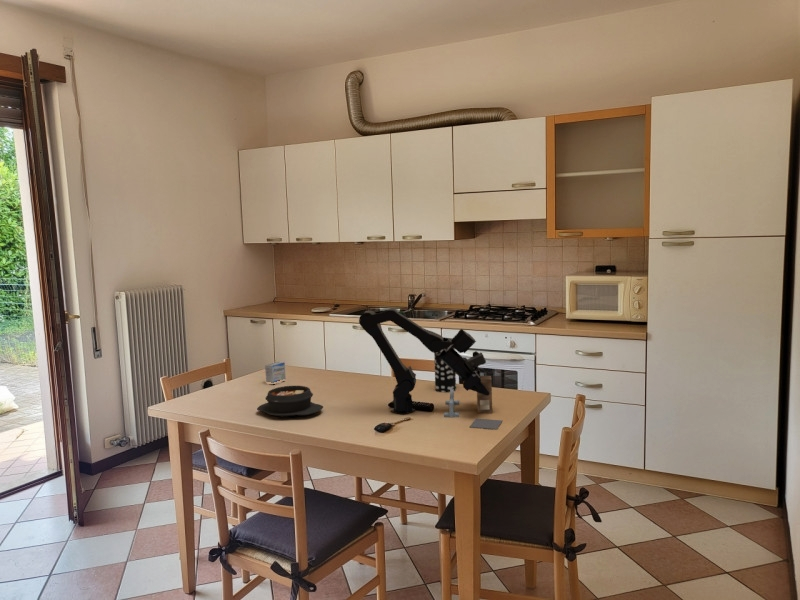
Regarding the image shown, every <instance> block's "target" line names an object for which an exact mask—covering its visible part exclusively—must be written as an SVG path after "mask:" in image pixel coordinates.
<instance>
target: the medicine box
mask: <svg viewBox="0 0 800 600" xmlns="http://www.w3.org/2000/svg"><path fill="white" fill-rule="evenodd" d="M264 368H265V383H266V382H271V383H274V382H277V381H280V380H283V379H286V380H287V378H286V365H285V361H284V362H283V361H277V362H273V363H268V364H266V365H265V366H264Z"/></svg>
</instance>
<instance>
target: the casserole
mask: <svg viewBox="0 0 800 600" xmlns="http://www.w3.org/2000/svg"><path fill="white" fill-rule="evenodd" d="M313 395H314V393H313V392H312V391H311V388H310V387H308V386H305V385H287V386H279V387H276V388H275V387H274V388H272V389H270V390H269V391H268V392H267V395H266V397H265V401H266V402H265V403H263V404H261V405H259V406H258V407H257V408H256V410H257V411H259V412H263V413H265V414H268V415H271V416H276V417H279V416H294V415H298V416H308V415H312V414H316V413H318V412H320V411H322V410H323V409H324V406H323V405H322V404H318V403H315V402H312V397H313ZM294 417H295V416H294Z"/></svg>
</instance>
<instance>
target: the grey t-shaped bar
mask: <svg viewBox="0 0 800 600" xmlns="http://www.w3.org/2000/svg"><path fill="white" fill-rule="evenodd" d="M454 392H455V391H454V389H450V392H449V400H445V406H447V405H448V406H449V408H448V409H449V412H444V414H443V418H459V417H460V412H454V409H455V408H454V407H455V406H456V405H460V400H455V393H454ZM454 405H455V406H454Z"/></svg>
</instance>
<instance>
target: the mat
mask: <svg viewBox="0 0 800 600" xmlns="http://www.w3.org/2000/svg"><path fill="white" fill-rule="evenodd" d="M502 421H503V420H502V419H501V420H500V419H487V418H475V419H474V420H473V422H472V423H471V424H470V425H469V428H472V429H481V428H483V430H493V429H497V430H499V428H500V426H501V425H500V424H502V423H503V422H502ZM498 427H499V428H498Z"/></svg>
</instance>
